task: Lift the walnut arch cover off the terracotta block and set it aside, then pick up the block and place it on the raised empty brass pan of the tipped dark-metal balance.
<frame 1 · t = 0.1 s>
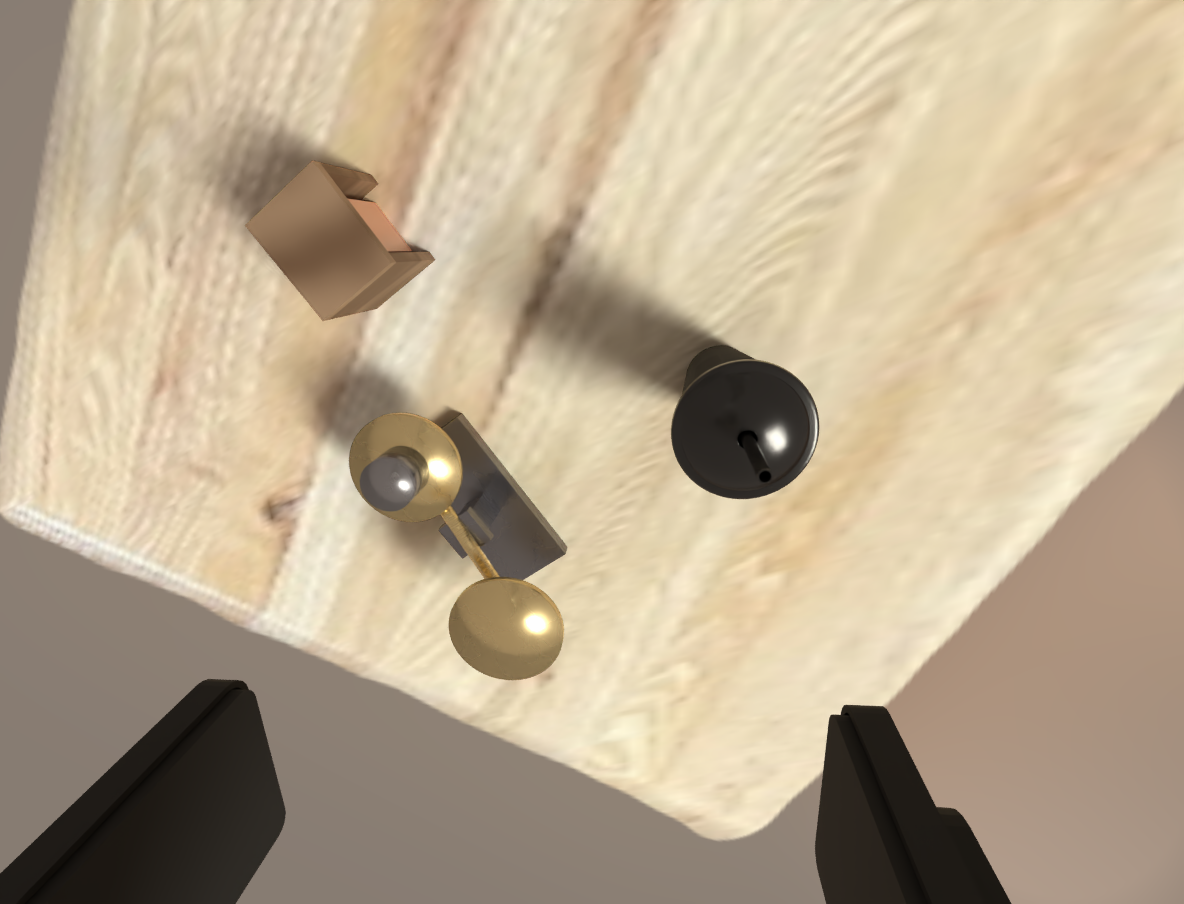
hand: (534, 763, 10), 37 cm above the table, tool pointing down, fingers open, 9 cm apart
balance: (486, 502, 50), on the table
drinking cup: (718, 378, 45), on the table
block: (374, 244, 44), on the table
arch: (374, 244, 44), on the table
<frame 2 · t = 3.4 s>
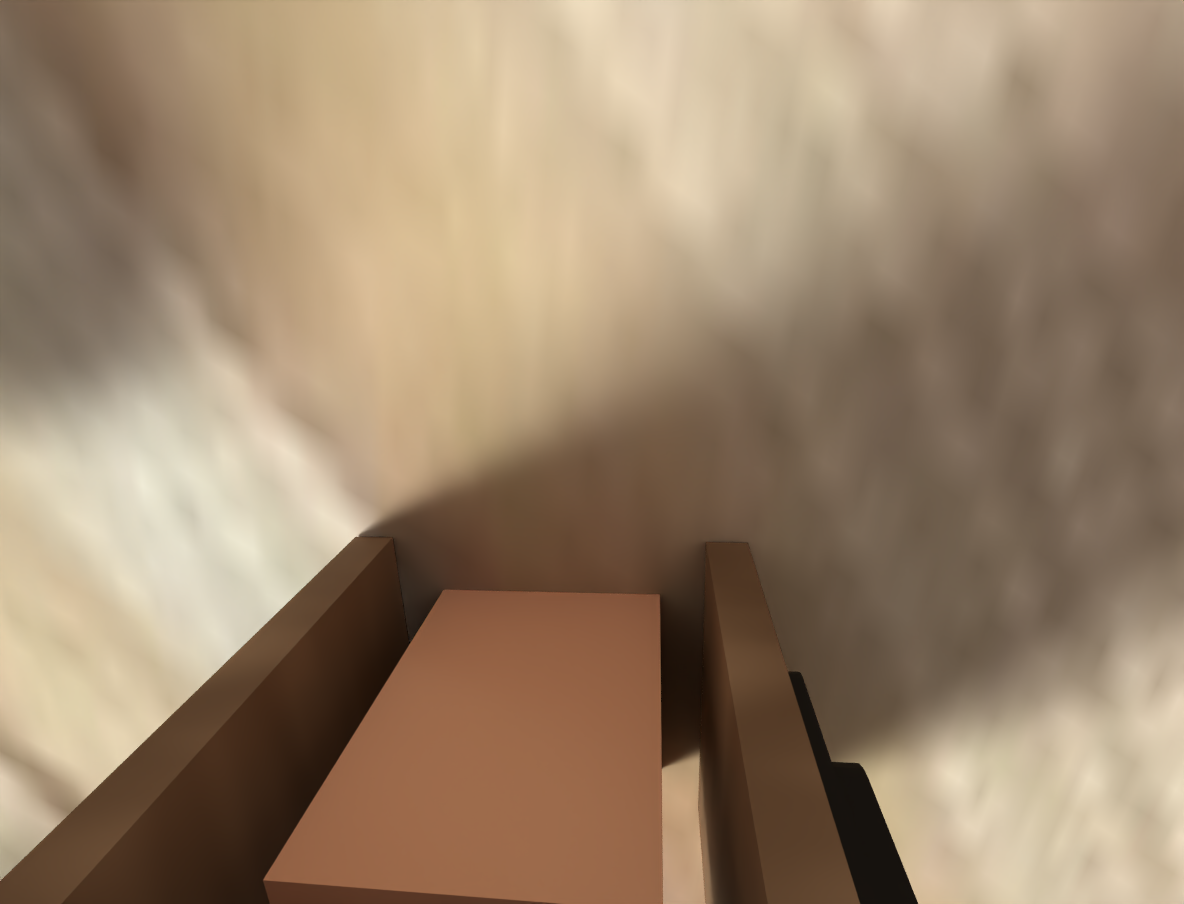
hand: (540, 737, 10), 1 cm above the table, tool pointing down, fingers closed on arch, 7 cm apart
block: (556, 681, 12), on the table
arch: (554, 680, 12), on the table, touching gripper
when the fingers open (3 cm above the table, at t = 8.6 s): arch drops 1 cm, on the table.
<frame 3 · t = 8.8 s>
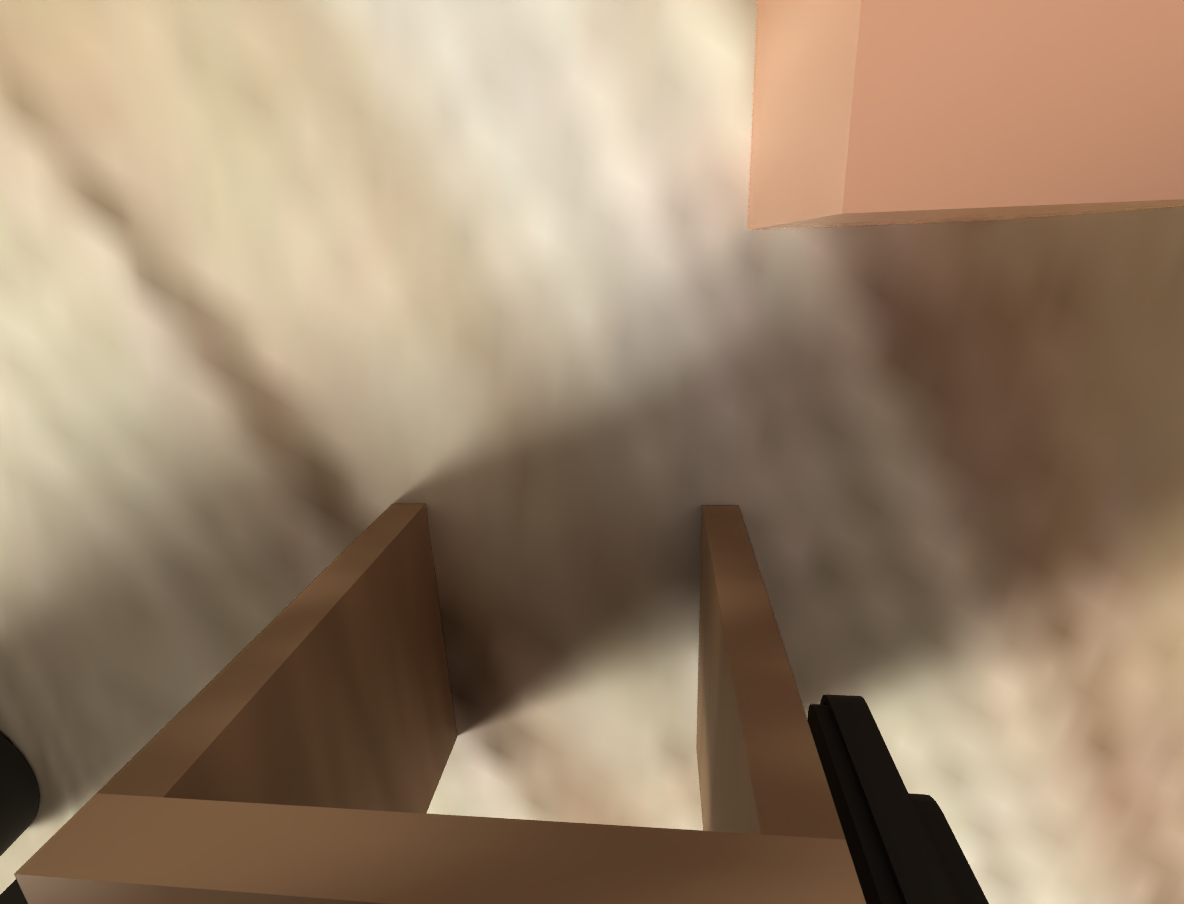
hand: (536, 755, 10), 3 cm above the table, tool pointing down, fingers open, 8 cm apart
block: (885, 86, 9), on the table
arch: (567, 632, 13), on the table
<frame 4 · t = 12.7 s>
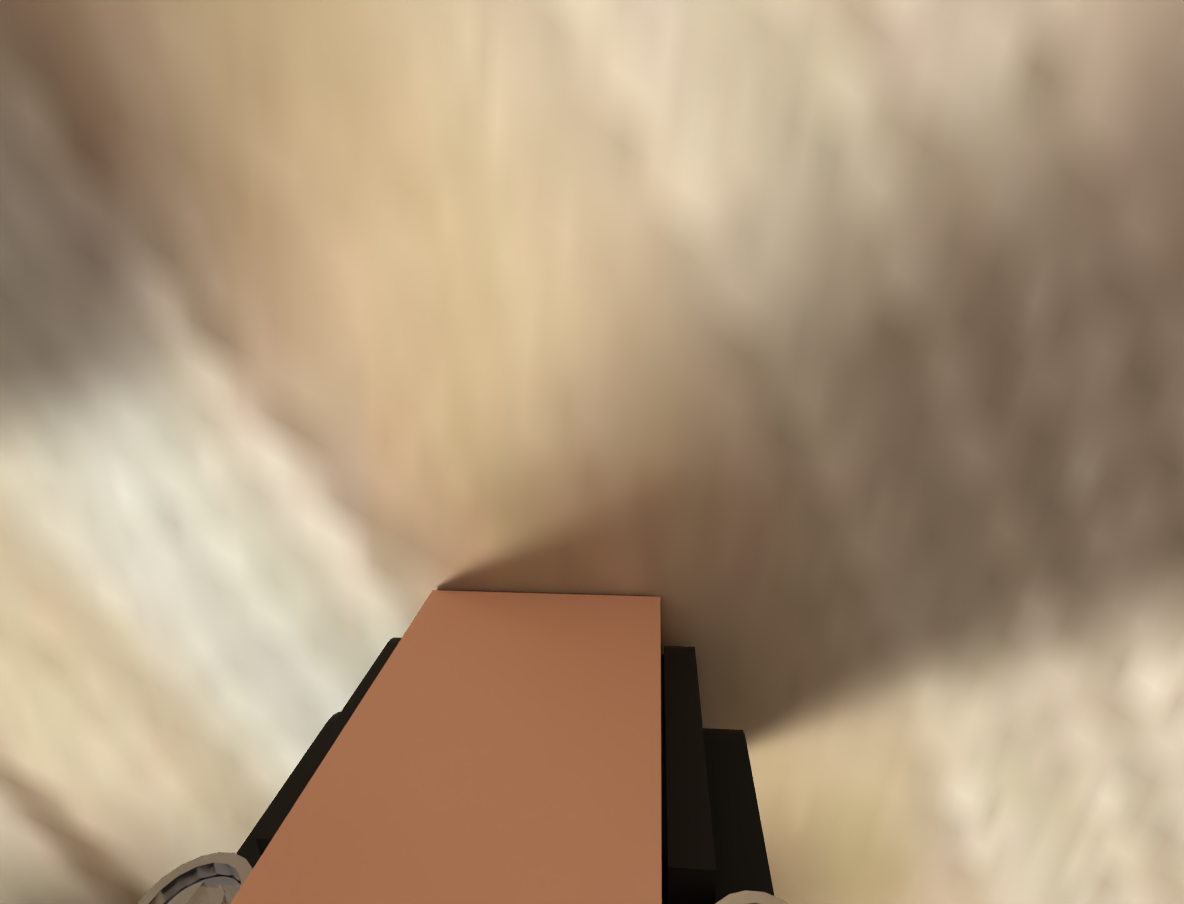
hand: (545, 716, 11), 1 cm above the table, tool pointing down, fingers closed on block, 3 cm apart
block: (550, 687, 11), on the table, touching gripper
when the fingers open (13 cm above the table, at t = 17.5 s): block moves 2 cm and tips over, resting on balance.
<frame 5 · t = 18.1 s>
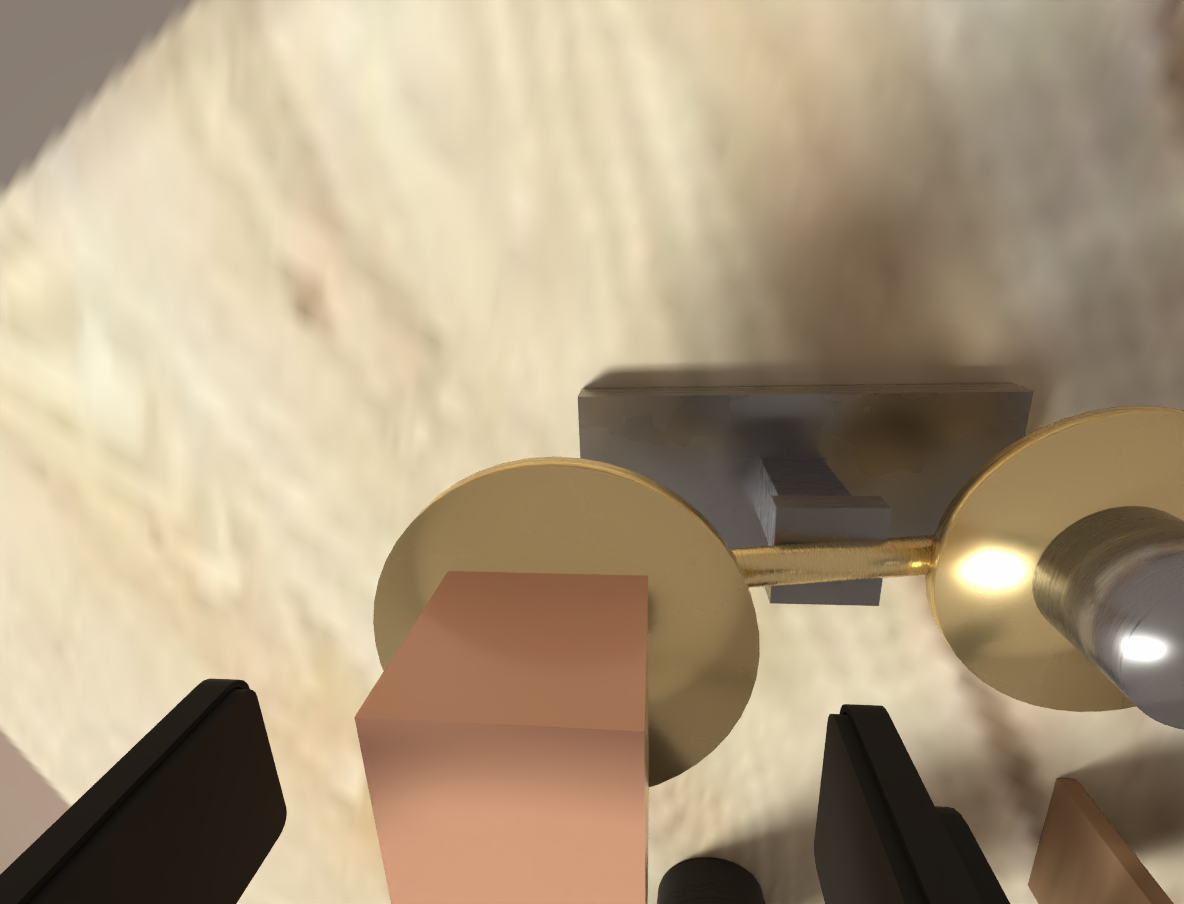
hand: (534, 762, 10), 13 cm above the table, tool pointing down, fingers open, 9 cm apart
balance: (782, 474, 21), on the table
drinking cup: (709, 890, 28), on the table
block: (525, 634, 10), point 12 cm above the table, tilted 90°, touching balance
arch: (1133, 839, 25), on the table
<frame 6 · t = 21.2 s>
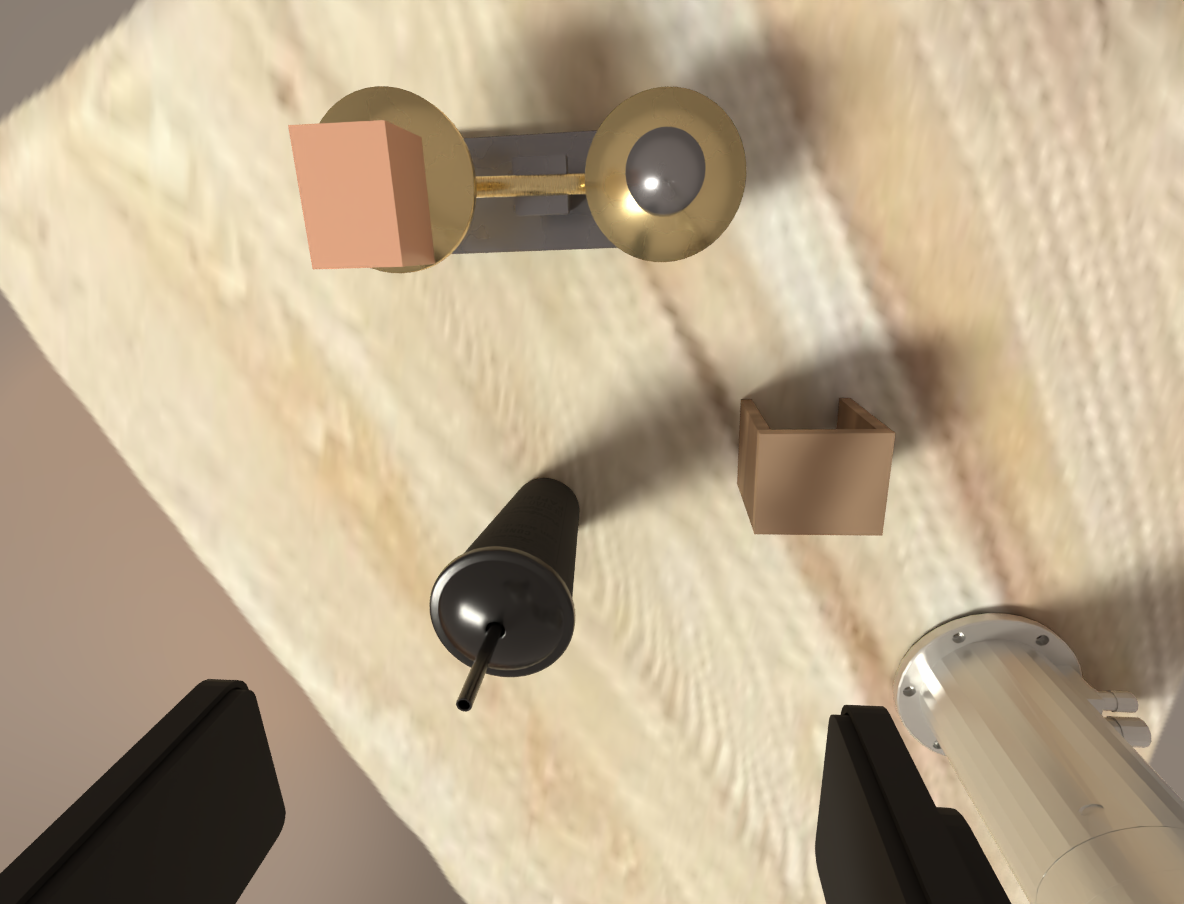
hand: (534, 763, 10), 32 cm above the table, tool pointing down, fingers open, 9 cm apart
balance: (557, 194, 37), on the table
drinking cup: (546, 507, 44), on the table
block: (359, 131, 26), point 12 cm above the table, tilted 90°, touching balance
arch: (792, 442, 41), on the table
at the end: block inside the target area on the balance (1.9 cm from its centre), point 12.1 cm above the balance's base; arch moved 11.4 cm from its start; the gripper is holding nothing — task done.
